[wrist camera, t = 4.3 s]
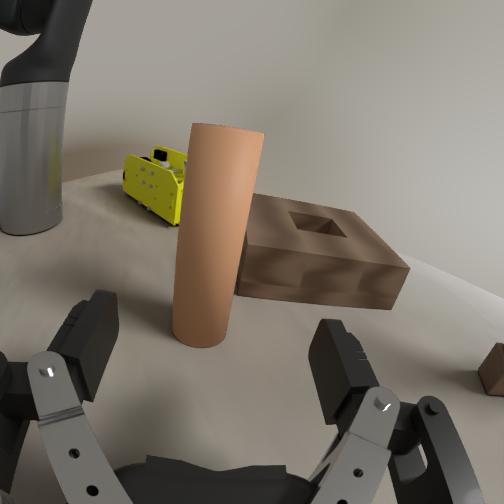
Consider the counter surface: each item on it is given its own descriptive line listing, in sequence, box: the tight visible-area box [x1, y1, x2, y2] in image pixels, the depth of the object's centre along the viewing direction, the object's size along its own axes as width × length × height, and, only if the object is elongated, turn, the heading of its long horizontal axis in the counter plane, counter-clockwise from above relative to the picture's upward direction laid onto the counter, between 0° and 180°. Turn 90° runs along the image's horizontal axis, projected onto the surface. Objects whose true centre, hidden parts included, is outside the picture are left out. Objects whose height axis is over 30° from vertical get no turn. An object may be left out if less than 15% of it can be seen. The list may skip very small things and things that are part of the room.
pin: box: [172, 123, 264, 348], centre depth 19 cm, size 4×4×14 cm
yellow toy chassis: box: [122, 145, 187, 225], centre depth 41 cm, size 16×6×8 cm, turn 46°
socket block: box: [237, 193, 410, 310], centre depth 34 cm, size 16×16×5 cm
